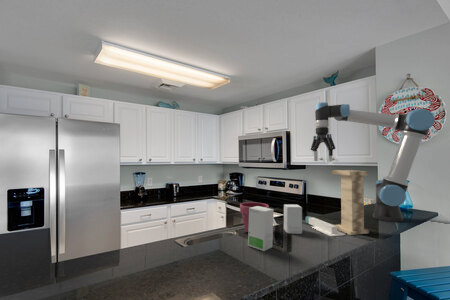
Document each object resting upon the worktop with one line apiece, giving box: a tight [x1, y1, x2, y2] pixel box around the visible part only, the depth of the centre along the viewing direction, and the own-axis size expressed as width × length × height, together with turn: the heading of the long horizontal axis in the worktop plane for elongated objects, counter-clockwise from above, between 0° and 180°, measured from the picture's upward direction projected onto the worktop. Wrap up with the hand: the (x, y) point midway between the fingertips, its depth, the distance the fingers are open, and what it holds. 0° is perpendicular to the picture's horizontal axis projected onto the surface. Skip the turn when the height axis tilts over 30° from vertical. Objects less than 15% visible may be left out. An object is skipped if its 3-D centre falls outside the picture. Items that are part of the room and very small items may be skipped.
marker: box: [305, 215, 338, 234], centre depth 125 cm, size 3×21×3 cm, turn 16°
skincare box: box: [247, 206, 275, 252], centre depth 98 cm, size 8×7×16 cm
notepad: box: [311, 225, 346, 237], centre depth 119 cm, size 8×15×1 cm, turn 16°
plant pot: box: [239, 201, 270, 232], centre depth 120 cm, size 14×14×13 cm
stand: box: [331, 169, 370, 236], centre depth 121 cm, size 11×12×30 cm
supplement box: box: [283, 204, 303, 235], centre depth 119 cm, size 7×7×13 cm
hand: (322, 161), depth 151 cm, fingers open, 13 cm apart
